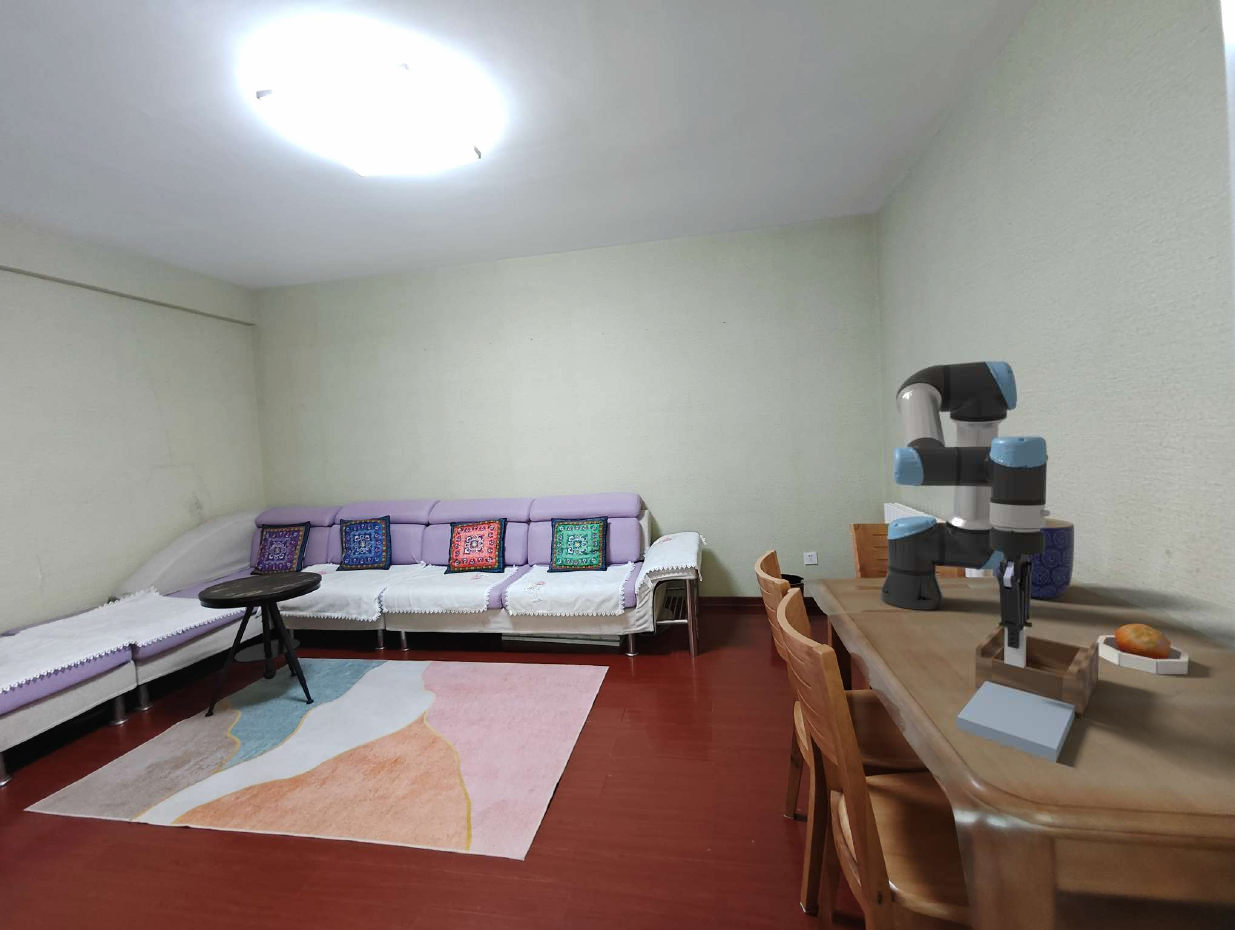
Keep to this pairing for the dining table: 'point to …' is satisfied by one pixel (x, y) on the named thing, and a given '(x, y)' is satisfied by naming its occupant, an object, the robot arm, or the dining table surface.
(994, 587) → the dining table surface
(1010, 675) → the box
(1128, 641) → the fruit
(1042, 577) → the planter
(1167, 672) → the fruit ring
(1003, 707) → the lid
